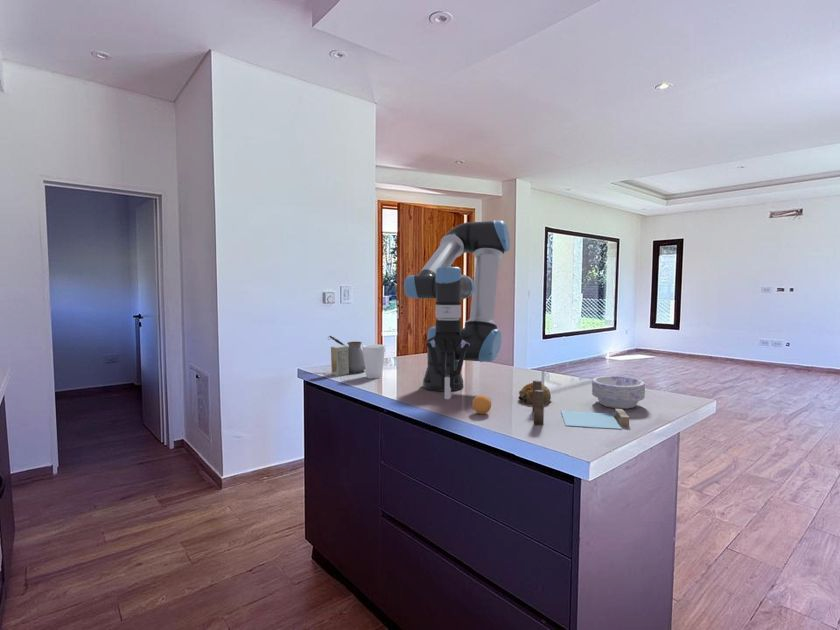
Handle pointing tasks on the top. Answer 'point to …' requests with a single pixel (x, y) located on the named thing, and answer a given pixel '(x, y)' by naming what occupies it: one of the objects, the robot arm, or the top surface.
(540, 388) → the post
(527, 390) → the bread roll
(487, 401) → the ball
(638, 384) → the grey stone bowl
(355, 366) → the coffee pot
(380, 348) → the foam cup
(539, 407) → the post
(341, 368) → the skincare box
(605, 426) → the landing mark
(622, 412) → the wall
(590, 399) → the top surface
